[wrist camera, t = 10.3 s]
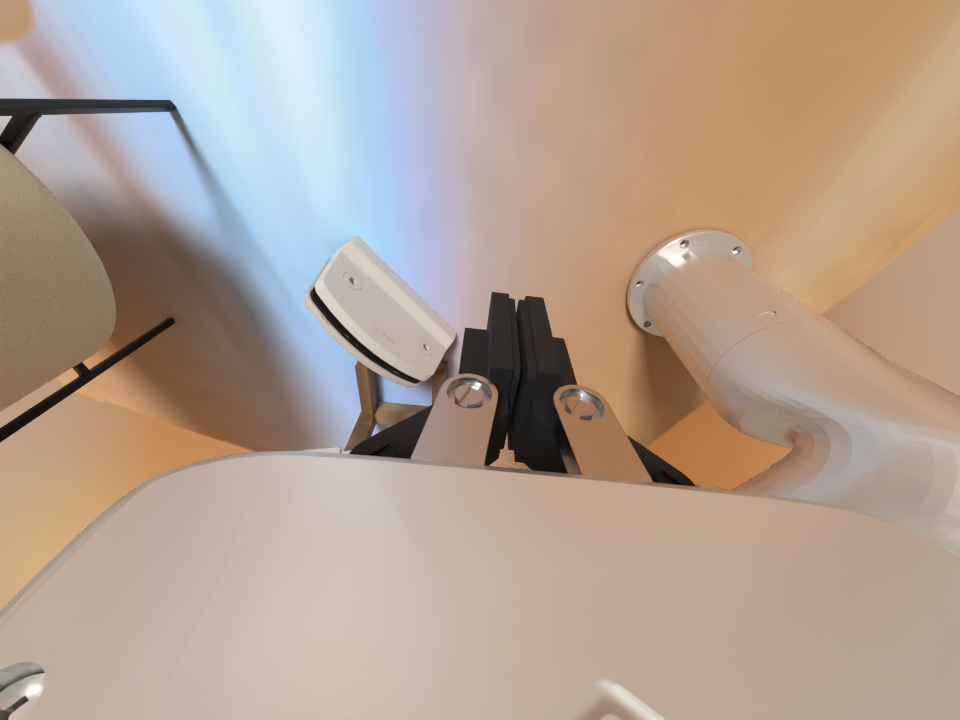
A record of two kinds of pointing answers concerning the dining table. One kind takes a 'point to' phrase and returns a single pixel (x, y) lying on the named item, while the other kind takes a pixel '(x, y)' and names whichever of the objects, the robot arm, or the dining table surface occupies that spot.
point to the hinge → (378, 316)
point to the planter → (50, 271)
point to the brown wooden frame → (384, 404)
